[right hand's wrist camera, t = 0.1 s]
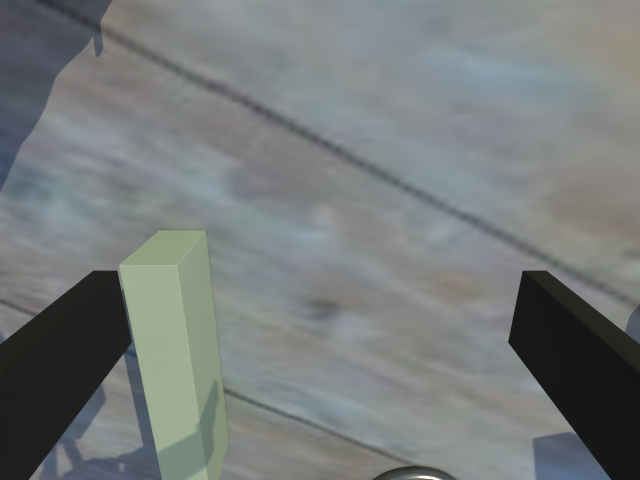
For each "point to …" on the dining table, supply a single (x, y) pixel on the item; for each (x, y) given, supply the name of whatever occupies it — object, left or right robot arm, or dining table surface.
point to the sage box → (178, 352)
